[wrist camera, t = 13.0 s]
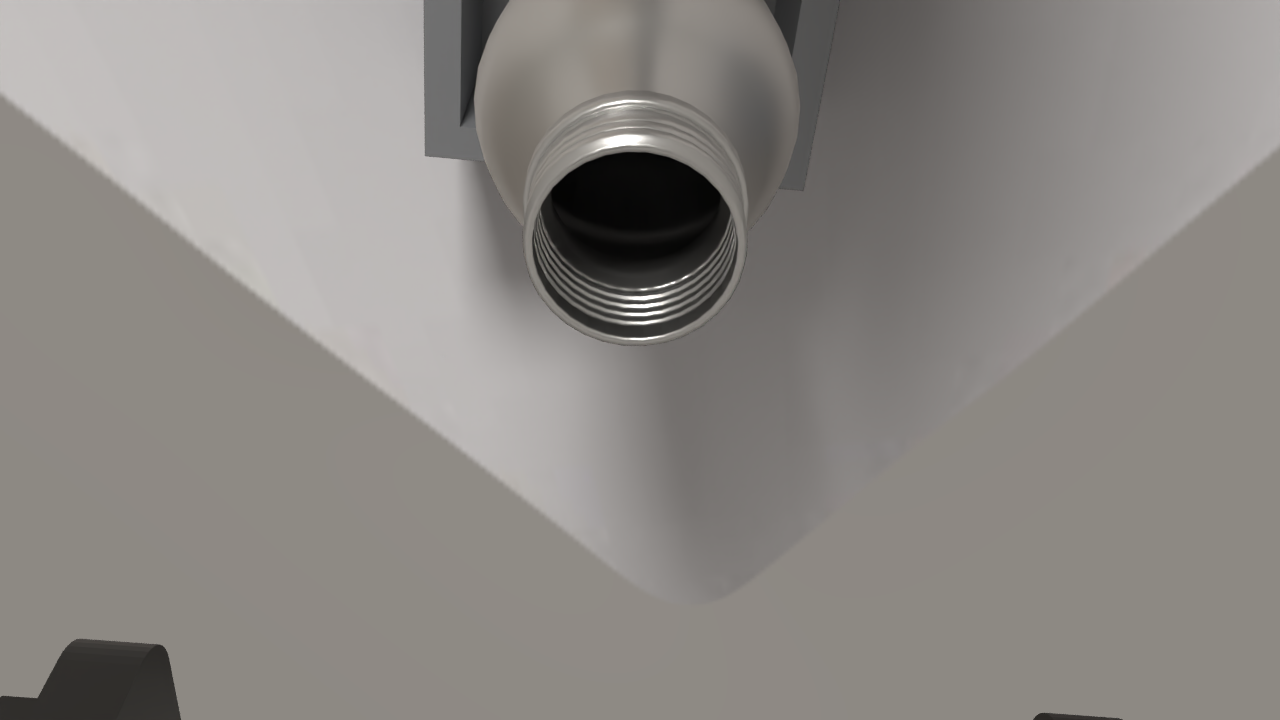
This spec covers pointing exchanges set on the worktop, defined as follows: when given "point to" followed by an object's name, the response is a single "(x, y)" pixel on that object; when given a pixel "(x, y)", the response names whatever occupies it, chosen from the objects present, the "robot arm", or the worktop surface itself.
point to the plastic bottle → (636, 152)
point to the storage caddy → (472, 4)
